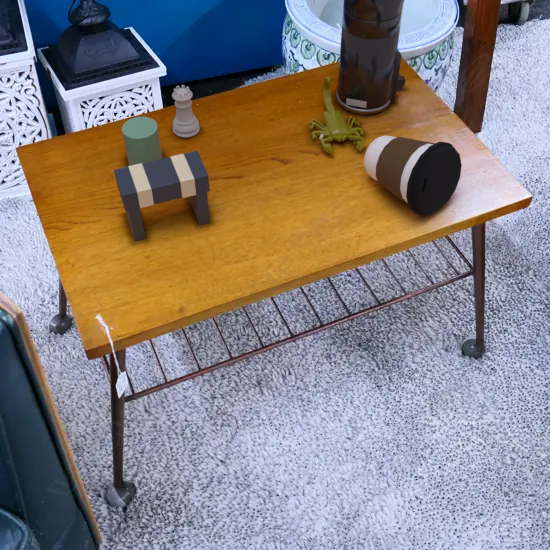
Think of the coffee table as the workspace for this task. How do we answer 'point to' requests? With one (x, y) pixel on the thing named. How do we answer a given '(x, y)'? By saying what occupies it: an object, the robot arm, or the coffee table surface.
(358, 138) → the scorpion
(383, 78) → the robot arm
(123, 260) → the coffee table surface
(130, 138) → the mint green cylinder
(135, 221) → the barricade
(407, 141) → the coffee cup
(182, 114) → the rook chess piece
